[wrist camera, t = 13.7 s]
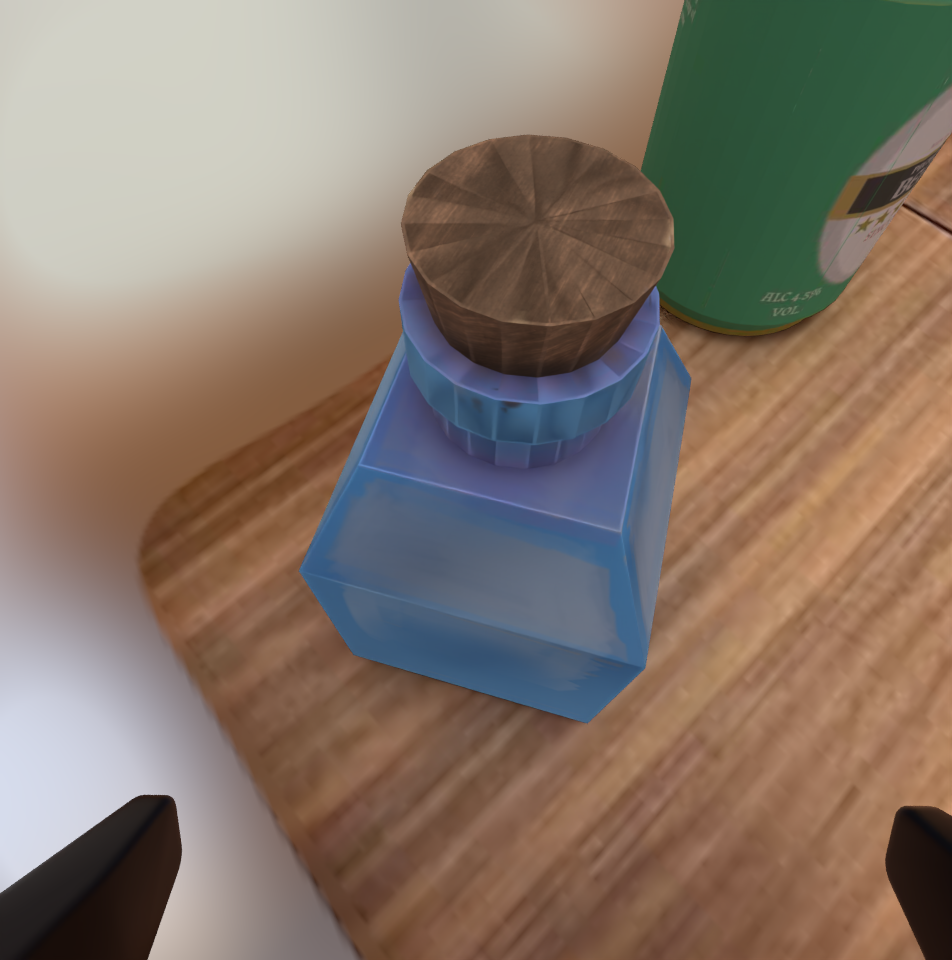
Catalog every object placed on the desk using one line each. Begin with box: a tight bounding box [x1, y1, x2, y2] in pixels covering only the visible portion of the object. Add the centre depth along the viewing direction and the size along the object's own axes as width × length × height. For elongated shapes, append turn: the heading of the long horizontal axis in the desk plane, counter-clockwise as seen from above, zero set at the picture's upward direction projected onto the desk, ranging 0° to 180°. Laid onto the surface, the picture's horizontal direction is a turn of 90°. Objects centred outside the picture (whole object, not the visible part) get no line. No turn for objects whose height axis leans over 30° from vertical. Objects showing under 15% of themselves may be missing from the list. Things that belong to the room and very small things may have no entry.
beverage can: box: [641, 0, 952, 336], centre depth 20 cm, size 8×8×12 cm
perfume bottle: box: [299, 135, 691, 723], centre depth 13 cm, size 6×6×12 cm
